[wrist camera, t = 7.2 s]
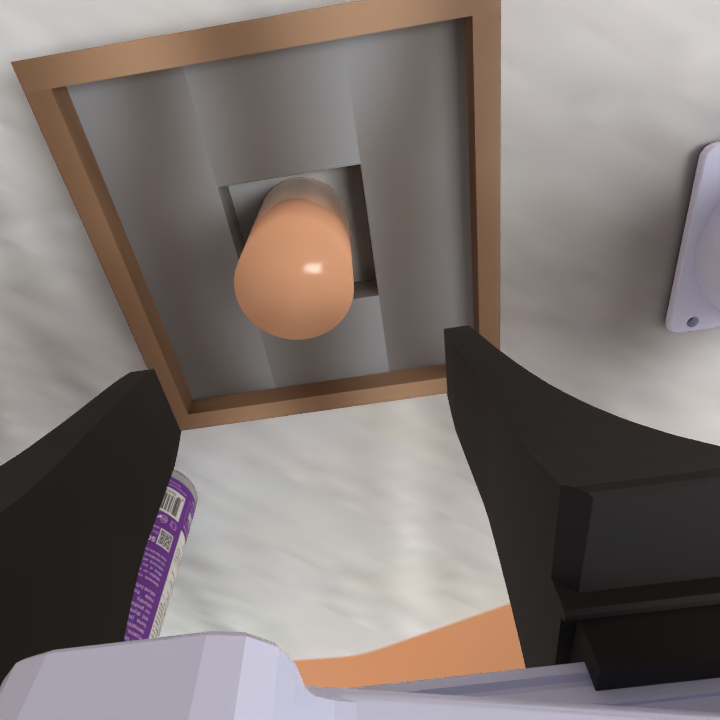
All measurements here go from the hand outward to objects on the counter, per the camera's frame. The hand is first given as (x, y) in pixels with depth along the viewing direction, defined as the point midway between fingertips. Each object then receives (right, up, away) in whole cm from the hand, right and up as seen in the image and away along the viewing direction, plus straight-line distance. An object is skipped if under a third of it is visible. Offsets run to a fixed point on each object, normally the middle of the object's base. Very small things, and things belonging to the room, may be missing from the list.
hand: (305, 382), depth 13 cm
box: (-1, +6, +7) cm, 9 cm away
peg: (-1, +6, +7) cm, 9 cm away
